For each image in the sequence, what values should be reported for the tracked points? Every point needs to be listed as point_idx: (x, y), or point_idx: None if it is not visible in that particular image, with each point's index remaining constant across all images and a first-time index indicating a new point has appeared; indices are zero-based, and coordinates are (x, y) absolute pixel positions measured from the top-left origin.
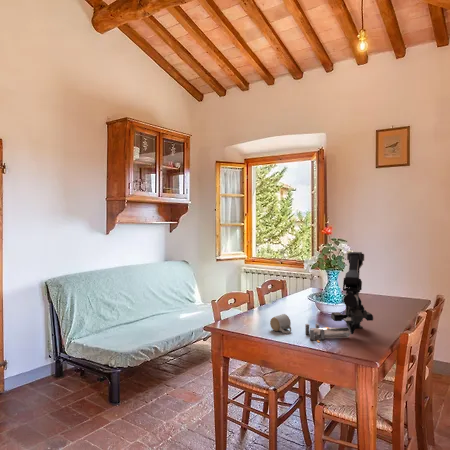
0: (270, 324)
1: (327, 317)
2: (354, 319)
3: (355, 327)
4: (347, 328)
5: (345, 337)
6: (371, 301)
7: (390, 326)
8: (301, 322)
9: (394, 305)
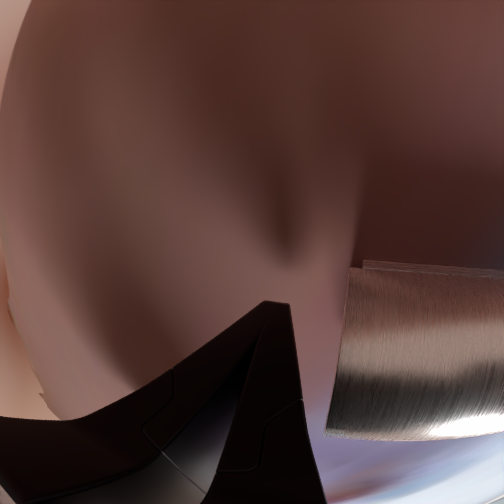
0: None
1: None
2: None
3: (161, 376)
4: (356, 407)
5: (409, 266)
6: None
7: (48, 355)
8: (451, 486)
9: None
